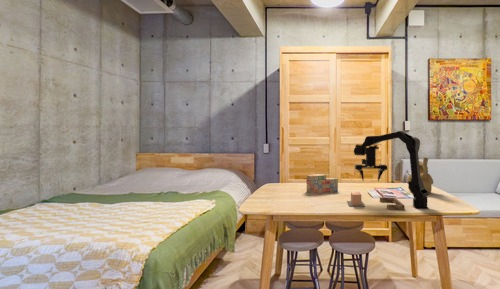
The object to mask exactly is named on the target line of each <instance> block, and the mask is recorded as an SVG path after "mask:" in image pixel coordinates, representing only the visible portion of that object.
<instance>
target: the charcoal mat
mask: <svg viewBox="0 0 500 289" xmlns="http://www.w3.org/2000/svg"><path fill="white" fill-rule="evenodd" d="M346 203H347V205H348V207H356V208H365V207H366V204H365V203H364V202H363V201H362V200H361V205H352V203H351V200H347V201H346Z"/></svg>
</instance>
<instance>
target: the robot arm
mask: <svg viewBox="0 0 500 289" xmlns="http://www.w3.org/2000/svg"><path fill="white" fill-rule="evenodd" d="M395 139H399V140H400V142H402V143H403V144H405V146H406V150H407V153H408V154H409V163H410V174H411V175H412V179H411V181H409V182H408V183H407V184H409V188H408V190H409V189H410V190H409V191H410V192H411V194H412V196H413V199H412V206H413V207H414V208H415V209H429V207H428V197H429V195H430V194H429V192H428V191H427V190H426V189H425V188H424V184H423V181H422V179H421V177H420V168H419V161H420V160H419V151H420V147H421V140H420V139H419V138H418V137H414V136H412V135H410V134H408V133H406V132H404V130H398V131H394V132H391V133H386V134H381V135H369V136H366V137H365V138H364V141H363V143H362V144H355V147H354V149H353V154H354V156H363V157H364V156H365V158H362V159H361V163H360V164H359V163H358V164H354V169H355V170H356V171H358V172H359V174H360V177H361V180H362V181H364V178H365V177H364V169H372V170H373V169H374V170H375V169H377V170H378V171H377V172H378V173H377V174H378V175H377V181H378V182H379V181H380V179H381V177H382V175H383V174H384V172H385V171H387V170H388V165H387V164H379V165H377V164H376V162H377V161H376V158H377V156H376V155H377V154H376V153H377V150H379V149H380V147H379V146H378V144H380V143H382V142H385V141H390V140H395Z"/></svg>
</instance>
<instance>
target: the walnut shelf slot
mask: <svg viewBox="0 0 500 289" xmlns="http://www.w3.org/2000/svg"><path fill="white" fill-rule="evenodd" d="M379 202H381V203H390V204H386V210H392V211H393V210H394V211H395V210H396V211H405V204H403V202H401V201H400V200H399V199H397V198H396V197H389V196H388V197H387V196H385V197H384V196H383V197H382V196H380V197H379ZM391 203H394V204H391Z"/></svg>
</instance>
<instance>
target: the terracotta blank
mask: <svg viewBox="0 0 500 289" xmlns="http://www.w3.org/2000/svg"><path fill="white" fill-rule="evenodd" d="M350 201H351V203H352V205H361V201H362V193H361V192H360V191H351V192H350Z"/></svg>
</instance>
